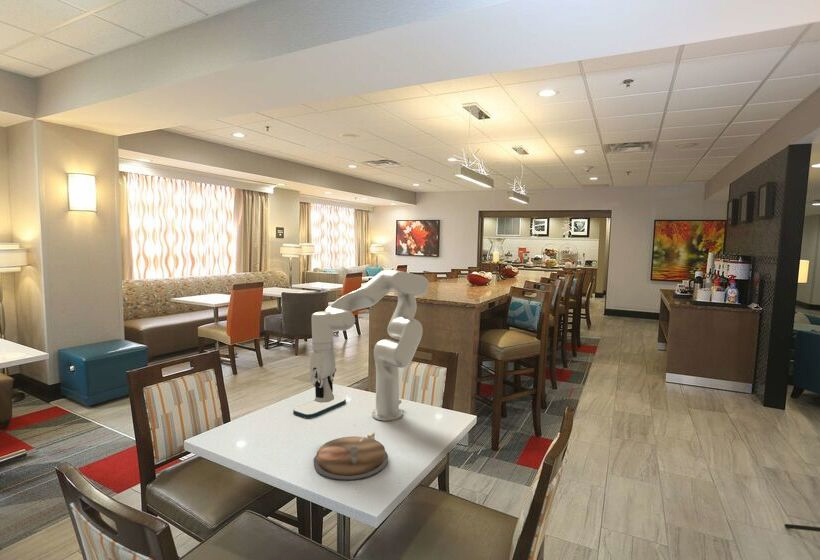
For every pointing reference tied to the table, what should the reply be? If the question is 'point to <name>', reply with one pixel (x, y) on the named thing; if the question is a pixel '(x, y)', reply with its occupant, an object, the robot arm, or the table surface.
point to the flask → (326, 392)
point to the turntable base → (352, 477)
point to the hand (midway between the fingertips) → (324, 394)
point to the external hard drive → (318, 407)
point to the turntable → (350, 455)
